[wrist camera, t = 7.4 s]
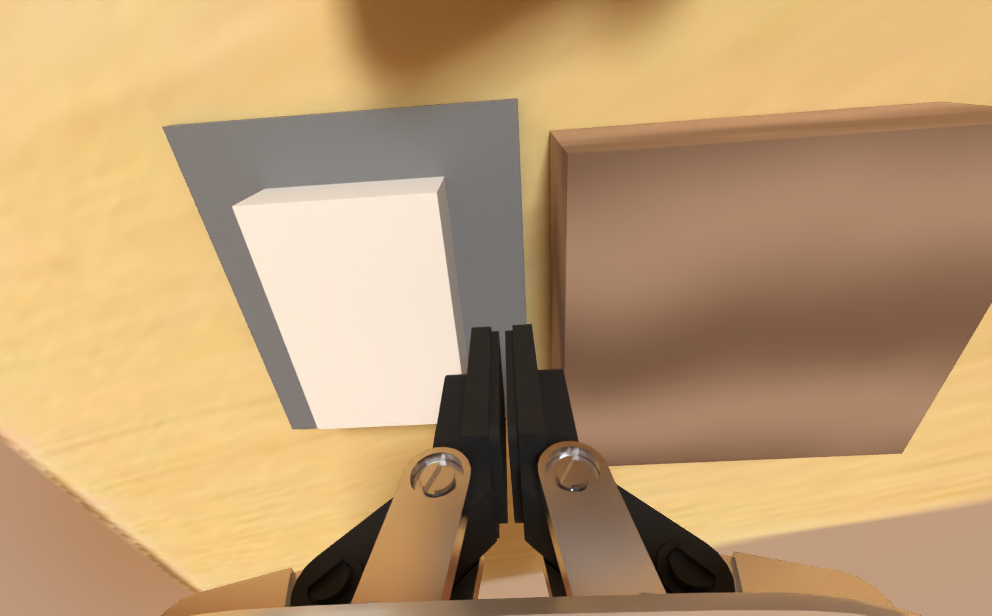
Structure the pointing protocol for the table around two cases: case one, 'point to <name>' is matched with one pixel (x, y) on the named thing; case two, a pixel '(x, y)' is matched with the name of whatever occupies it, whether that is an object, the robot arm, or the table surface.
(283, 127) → the mat
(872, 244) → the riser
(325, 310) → the tile
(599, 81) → the table surface
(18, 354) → the table surface
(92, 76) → the table surface
